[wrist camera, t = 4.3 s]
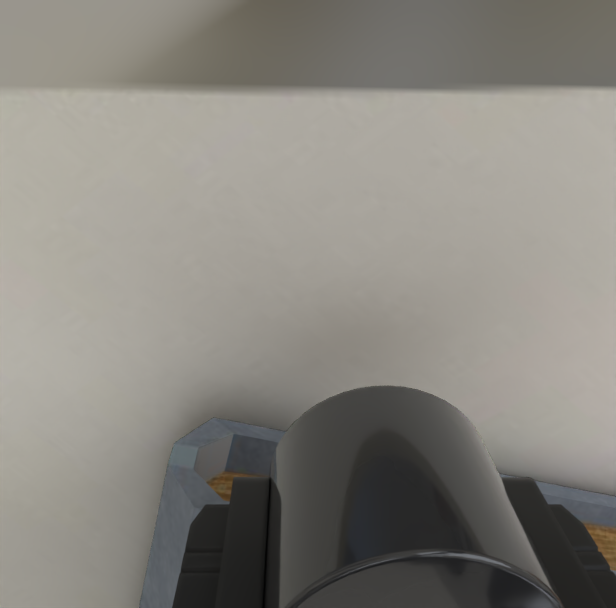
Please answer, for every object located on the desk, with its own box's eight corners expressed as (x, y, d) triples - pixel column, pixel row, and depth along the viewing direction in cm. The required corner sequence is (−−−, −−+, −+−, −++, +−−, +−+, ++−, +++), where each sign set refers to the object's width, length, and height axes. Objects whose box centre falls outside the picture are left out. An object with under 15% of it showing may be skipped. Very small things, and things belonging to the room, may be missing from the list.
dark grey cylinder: (270, 381, 11) (258, 551, 7) (504, 386, 11) (613, 555, 7) (267, 557, 12) (257, 769, 9) (468, 559, 13) (541, 767, 9)
